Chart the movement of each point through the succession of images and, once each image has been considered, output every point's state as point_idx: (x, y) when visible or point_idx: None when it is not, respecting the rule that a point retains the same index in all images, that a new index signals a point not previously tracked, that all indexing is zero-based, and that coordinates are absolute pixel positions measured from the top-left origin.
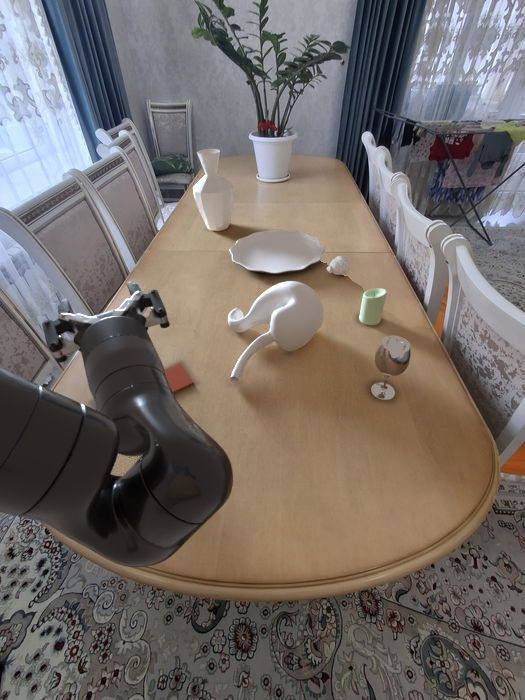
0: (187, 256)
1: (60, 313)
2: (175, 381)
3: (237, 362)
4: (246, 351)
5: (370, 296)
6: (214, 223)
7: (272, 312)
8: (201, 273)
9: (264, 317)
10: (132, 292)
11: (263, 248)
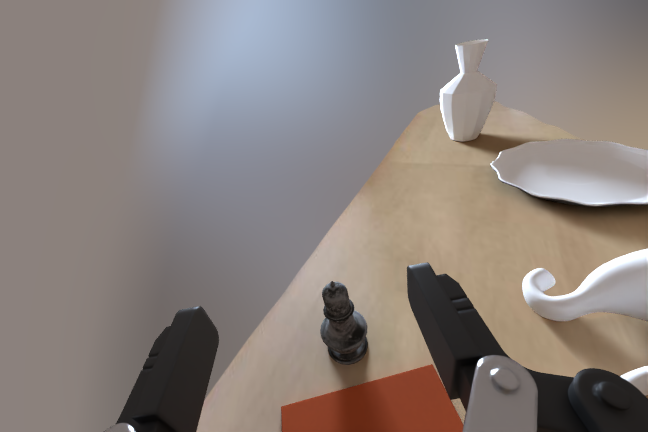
0: (426, 170)
1: (137, 393)
2: (427, 415)
3: None
4: None
5: None
6: (462, 132)
7: None
8: (449, 194)
9: (626, 306)
10: (457, 350)
11: (544, 164)
